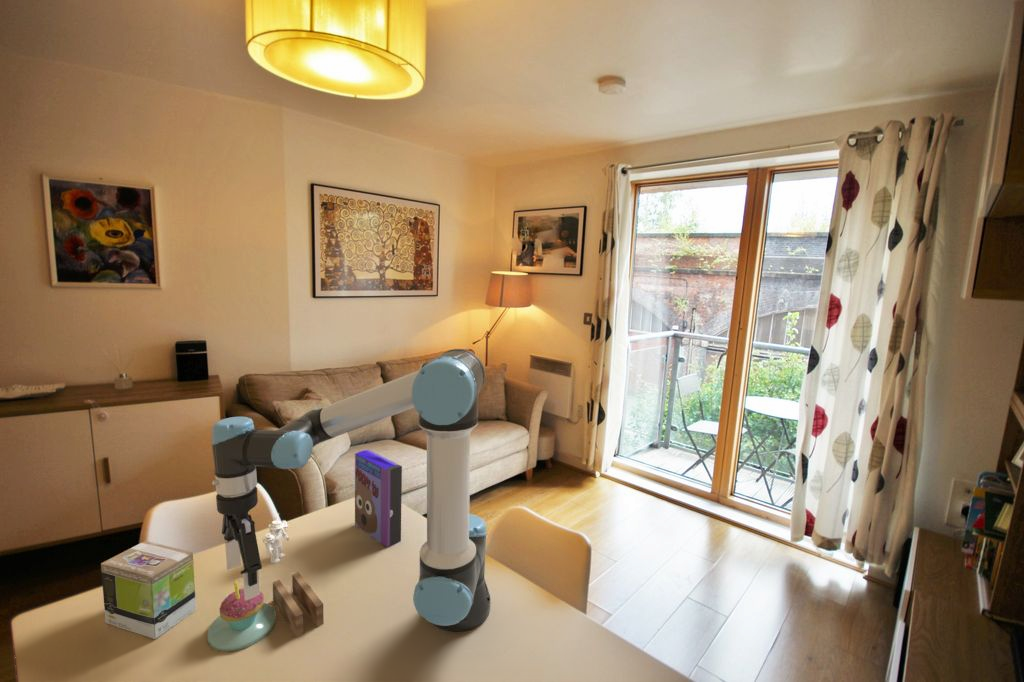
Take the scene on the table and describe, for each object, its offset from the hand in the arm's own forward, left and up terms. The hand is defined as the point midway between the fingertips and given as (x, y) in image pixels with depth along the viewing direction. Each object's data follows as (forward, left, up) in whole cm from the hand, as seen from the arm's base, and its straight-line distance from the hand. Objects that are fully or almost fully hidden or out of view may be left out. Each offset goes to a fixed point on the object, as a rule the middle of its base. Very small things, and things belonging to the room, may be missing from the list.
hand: (242, 581), depth 101 cm
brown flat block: (-3, -13, -11) cm, 17 cm away
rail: (-3, -8, -11) cm, 14 cm away
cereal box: (+15, -41, -12) cm, 45 cm away
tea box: (+17, +14, -12) cm, 25 cm away
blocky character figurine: (+21, -14, -12) cm, 28 cm away
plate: (0, 0, -11) cm, 11 cm away
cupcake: (0, 0, -10) cm, 10 cm away
